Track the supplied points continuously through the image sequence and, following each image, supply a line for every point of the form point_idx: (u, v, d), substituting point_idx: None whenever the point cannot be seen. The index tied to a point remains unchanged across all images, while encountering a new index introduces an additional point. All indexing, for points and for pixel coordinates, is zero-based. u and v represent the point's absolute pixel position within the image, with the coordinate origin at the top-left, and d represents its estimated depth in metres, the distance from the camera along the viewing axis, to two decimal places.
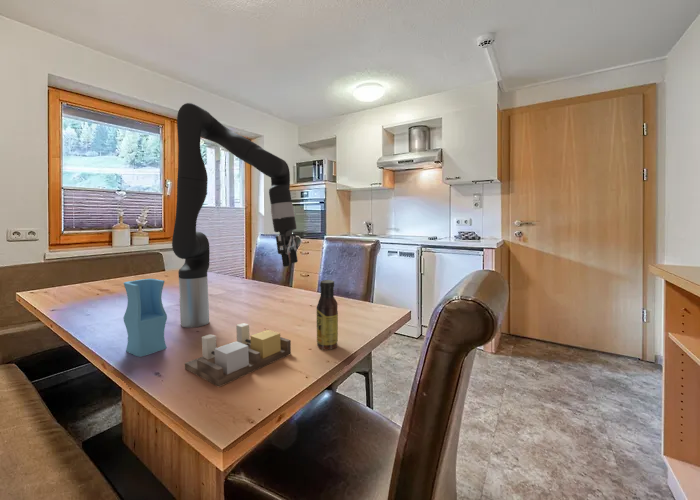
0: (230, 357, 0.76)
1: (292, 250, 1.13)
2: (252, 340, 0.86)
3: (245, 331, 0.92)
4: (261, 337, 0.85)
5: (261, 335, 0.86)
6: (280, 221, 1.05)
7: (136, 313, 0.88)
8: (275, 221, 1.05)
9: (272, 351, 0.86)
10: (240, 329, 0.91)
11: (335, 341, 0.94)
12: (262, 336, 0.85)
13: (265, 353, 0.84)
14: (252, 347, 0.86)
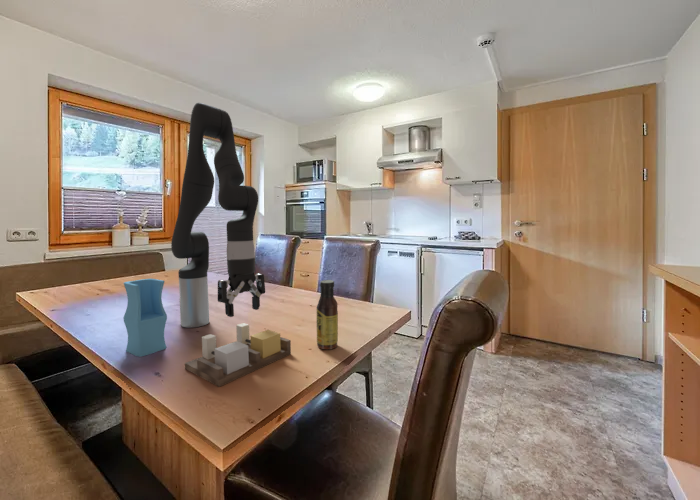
0: (230, 357, 0.76)
1: (254, 295, 0.95)
2: (252, 340, 0.86)
3: (245, 331, 0.92)
4: (261, 337, 0.85)
5: (261, 335, 0.86)
6: (229, 263, 0.88)
7: (136, 313, 0.88)
8: (227, 261, 0.89)
9: (272, 351, 0.86)
10: (240, 329, 0.91)
11: (335, 341, 0.94)
12: (262, 336, 0.85)
13: (265, 353, 0.84)
14: (252, 347, 0.86)
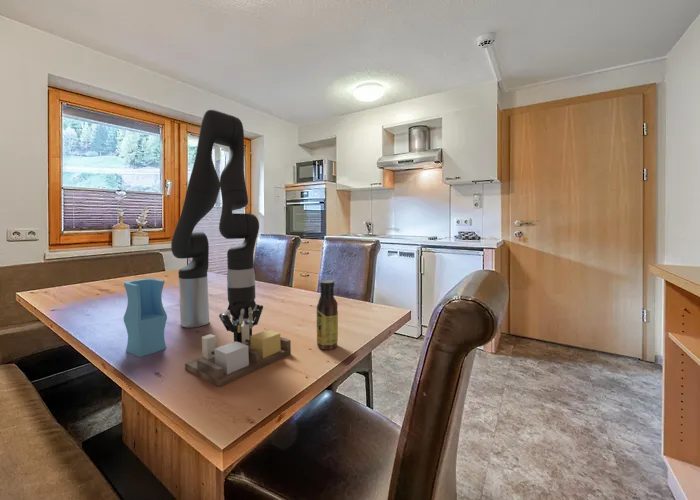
0: (230, 357, 0.76)
1: None
2: (252, 340, 0.86)
3: (245, 331, 0.92)
4: (261, 337, 0.85)
5: (261, 335, 0.86)
6: (230, 291, 0.89)
7: (136, 313, 0.88)
8: (227, 289, 0.90)
9: (272, 351, 0.86)
10: None
11: (335, 341, 0.94)
12: (262, 336, 0.85)
13: (265, 353, 0.84)
14: (252, 347, 0.86)
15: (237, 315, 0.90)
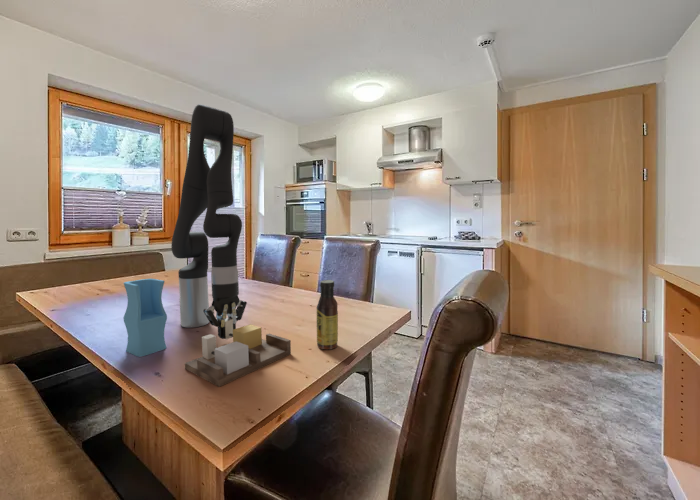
0: (230, 357, 0.76)
1: None
2: (234, 334, 0.90)
3: (229, 326, 0.97)
4: (242, 331, 0.90)
5: (243, 329, 0.91)
6: (213, 287, 0.93)
7: (136, 313, 0.88)
8: None
9: (253, 344, 0.91)
10: None
11: (335, 341, 0.94)
12: (243, 330, 0.90)
13: None
14: (234, 340, 0.90)
15: (221, 310, 0.94)
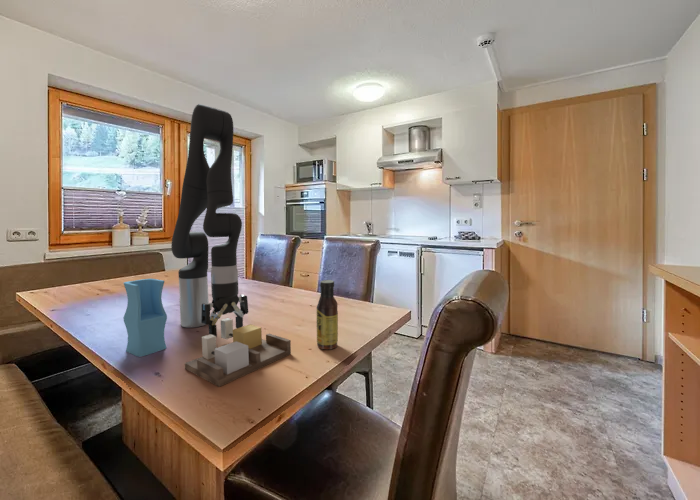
0: (230, 357, 0.76)
1: (238, 315, 1.01)
2: (234, 334, 0.90)
3: (229, 326, 0.97)
4: (242, 331, 0.90)
5: (243, 329, 0.91)
6: (213, 287, 0.93)
7: (136, 313, 0.88)
8: (211, 285, 0.95)
9: (253, 344, 0.91)
10: (224, 324, 0.96)
11: (335, 341, 0.94)
12: (243, 330, 0.90)
13: None
14: (234, 340, 0.90)
15: None
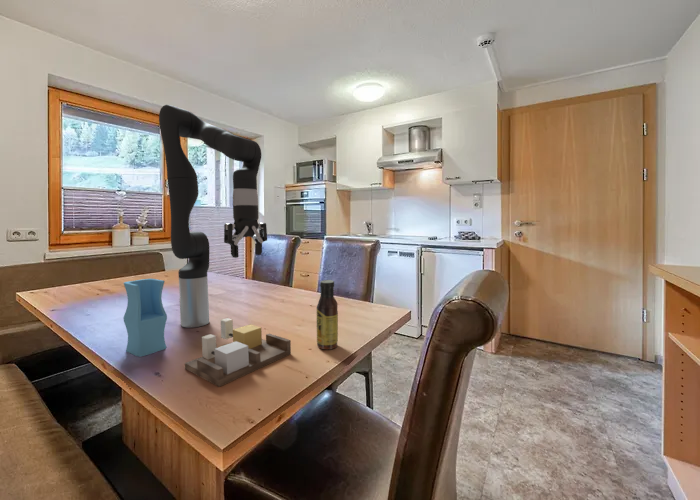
0: (230, 357, 0.76)
1: (257, 241, 1.04)
2: (234, 334, 0.90)
3: (229, 326, 0.97)
4: (242, 331, 0.90)
5: (243, 329, 0.91)
6: (235, 208, 0.97)
7: (136, 313, 0.88)
8: (233, 208, 0.98)
9: (253, 344, 0.91)
10: (224, 324, 0.96)
11: (335, 341, 0.94)
12: (243, 330, 0.90)
13: None
14: (234, 340, 0.90)
15: None
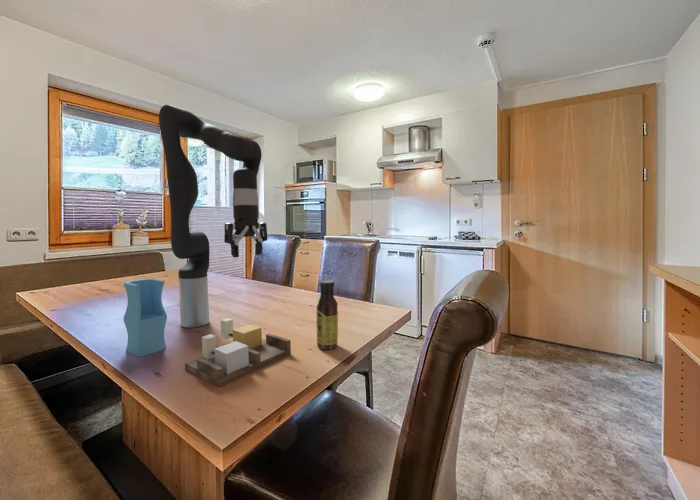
0: (230, 357, 0.76)
1: (257, 241, 1.04)
2: (234, 334, 0.90)
3: (229, 326, 0.97)
4: (242, 331, 0.90)
5: (243, 329, 0.91)
6: (235, 208, 0.97)
7: (136, 313, 0.88)
8: (233, 208, 0.99)
9: (253, 344, 0.91)
10: (224, 324, 0.96)
11: (335, 341, 0.94)
12: (243, 330, 0.90)
13: None
14: (234, 340, 0.90)
15: None
